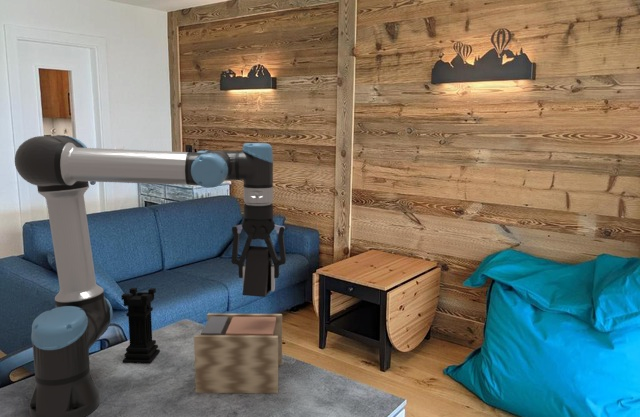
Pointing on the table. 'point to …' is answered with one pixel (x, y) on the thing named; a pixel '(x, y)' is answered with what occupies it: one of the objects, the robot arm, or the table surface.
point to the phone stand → (257, 272)
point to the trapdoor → (240, 326)
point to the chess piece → (140, 327)
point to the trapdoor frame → (238, 360)
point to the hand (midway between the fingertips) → (259, 289)
